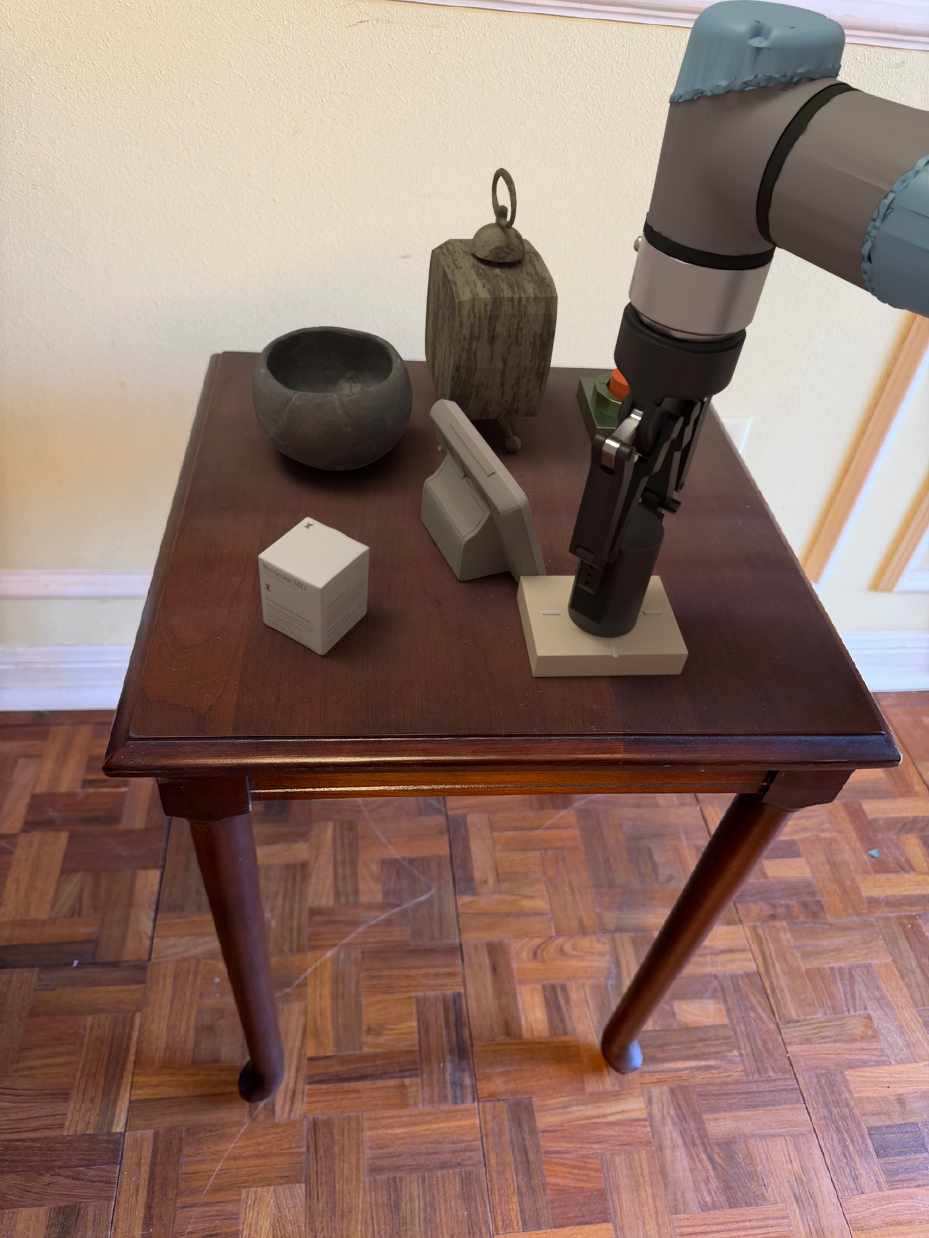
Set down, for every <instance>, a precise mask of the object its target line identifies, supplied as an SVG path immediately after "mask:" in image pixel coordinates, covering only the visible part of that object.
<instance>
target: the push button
mask: <svg viewBox="0 0 929 1238" xmlns="http://www.w3.org/2000/svg"><path fill="white" fill-rule="evenodd" d="M612 371H613V372H612V376H611V380H610V384H609V391H610V392H612V393H613V394H615V395H616V396H618V397H621V398H624V397H625V396H626V395H627V394H628V393H629V392H630V388H629V385H628V383H627V381H626V380H625V378H624V377H623V375H622V374H621V373H620V372H619V370H618V369H617V367H616V368H614V369H613V370H612Z"/></svg>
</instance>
